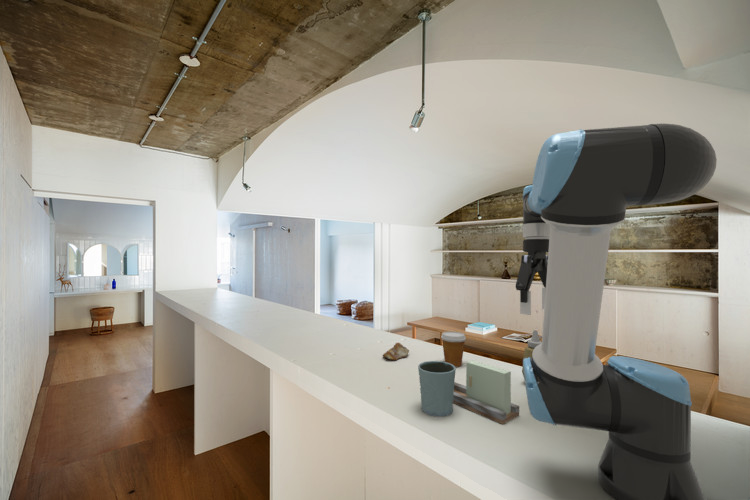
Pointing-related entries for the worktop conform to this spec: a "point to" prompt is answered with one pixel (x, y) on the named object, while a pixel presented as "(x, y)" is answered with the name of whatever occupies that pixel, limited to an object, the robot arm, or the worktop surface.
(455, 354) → the disposable coffee cup
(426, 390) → the teal cup
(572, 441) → the worktop surface
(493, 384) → the door panel
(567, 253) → the robot arm
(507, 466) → the worktop surface
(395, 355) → the decorative stone
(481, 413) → the track base
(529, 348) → the squeeze bottle
